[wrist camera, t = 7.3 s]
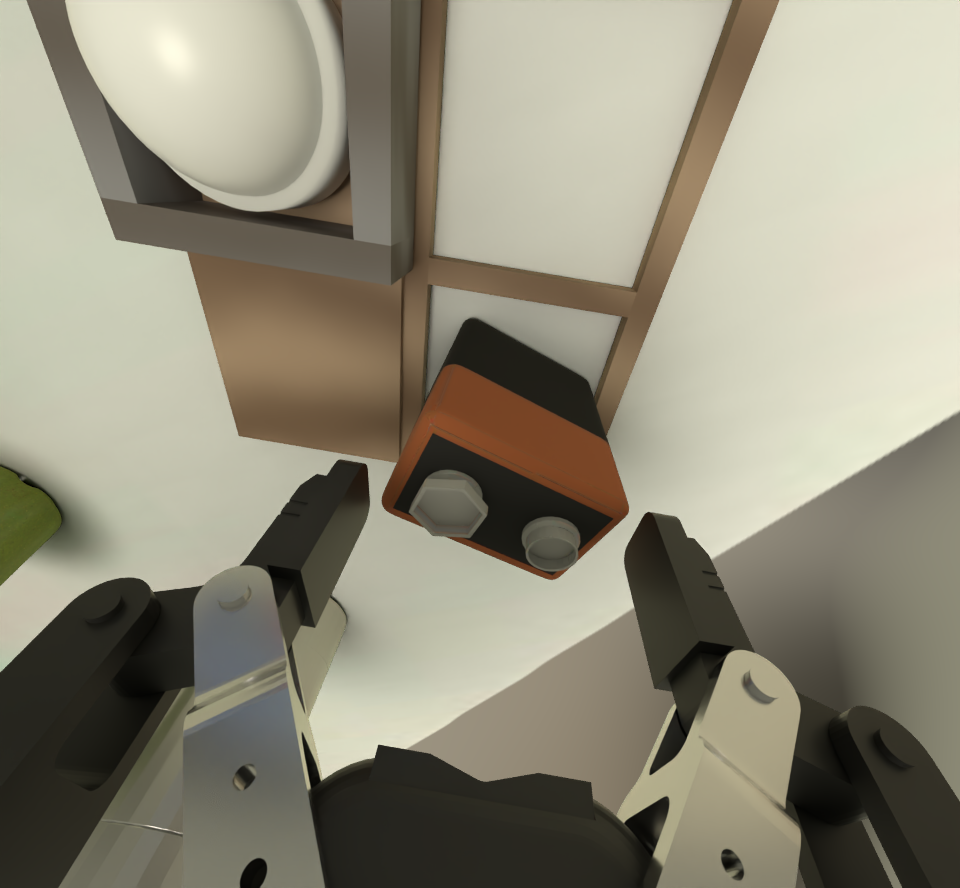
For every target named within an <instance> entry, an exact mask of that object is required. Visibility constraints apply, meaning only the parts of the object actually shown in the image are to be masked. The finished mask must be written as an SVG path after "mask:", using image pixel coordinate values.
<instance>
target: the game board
mask: <svg viewBox="0 0 960 888" xmlns="http://www.w3.org/2000/svg"><path fill="white" fill-rule="evenodd" d="M332 1H333V3H334V4H335V6H336V8H337V10H338V12H339V14H340V16H341V18H342V21H343V41H344V60H345V80H346V99H347V119H348V139H349V158H350V171H349V173H348V175H347V177H346V178H345V180H344V181H343V182H342V184H341V185H340V186H339V187H338V188H337V189H336V190H335V191H334V192H333V193H332V194H331V195H330V196H328V197H327V198H325V199H324V200H322V201H320V202H318V203H316V204H314V205H311V206H307V207H303V208H294V209H284V210H274V211H261V212H256V211H245V210H241V209H237V208H233V207H230V206H228V205H225V204H222V203H220V202H218V201H216V200H214V199H212V198H210V197H208V196H206V195H204V194H203V193H202V192H200V191H199V190H197V189H196V188H194V187H193V186H191V185H190V184H189V183H187V182H186V181H185V180H184V179H183V178H181V177H180V176H179V175H178V174H177V173H176V172H175V171H174V170H173V169H172V168H171V167H170V166H168V165H167V164H166V163H165V162H164V161H163V160H162V159H161V158H159V157H158V156H157V155H156V154H155V153H153V152H152V151H151V150H150V149H148V148H147V147H146V146H145V145H144V144H143V143H142V142H141V141H140V140H139V139H138V138H137V137H136V136H135V135H134V134H133V132H132V131H131V130H130V129H129V128H128V127H127V126H126V125H125V123H124V122H123V121H122V120H121V119H120V118H119V117H118V115H117V114H116V113H115V111H114V110H113V109H112V107H111V106H110V105H109V103H108V102H107V100H106V99H105V97H104V96H103V94H102V93H101V91H100V89H99V88H98V86H97V84H96V82H95V81H94V79H93V77H92V75H91V73H90V72H89V70H88V68H87V66H86V64H85V61H84V59H83V57H82V55H81V53H80V51H79V48H78V45H77V43H76V40H75V37H74V35H73V31H72V28H71V25H70V21H69V18H68V13H67V8H66V3H65V0H27V3H28V5H29V8H30V11H31V13H32V16H33V19H34V21H35V24H36V27H37V29H38V32H39V35H40V37H41V40H42V43H43V45H44V48H45V51H46V54H47V56H48V59H49V62H50V64H51V67H52V70H53V72H54V75H55V78H56V80H57V83H58V86H59V88H60V91H61V94H62V96H63V99H64V102H65V104H66V107H67V110H68V112H69V115H70V118H71V120H72V123H73V126H74V129H75V131H76V134H77V137H78V139H79V142H80V145H81V147H82V150H83V153H84V155H85V158H86V161H87V163H88V166H89V169H90V171H91V174H92V177H93V179H94V182H95V185H96V187H97V190H98V193H99V195H100V198H101V201H102V204H103V206H104V209H105V212H106V214H107V217H108V220H109V222H110V225H111V228H112V230H113V233H114V236H115V238H116V240H121V241H127V242H133V243H139V244H145V245H151V246H157V247H163V248H169V249H175V250H181V251H187V253H188V256H189V260H190V264H191V267H192V271H193V274H194V278H195V281H196V285H197V288H198V292H199V296H200V299H201V303H202V306H203V310H204V313H205V317H206V320H207V324H208V327H209V331H210V335H211V338H212V342H213V345H214V349H215V352H216V356H217V359H218V363H219V367H220V370H221V374H222V377H223V381H224V384H225V388H226V391H227V395H228V399H229V402H230V406H231V409H232V413H233V416H234V420H235V423H236V427H237V431H238V434H239V436H242V437H248V438H254V439H260V440H266V441H272V442H278V443H284V444H290V445H295V446H301V447H307V448H313V449H319V450H325V451H331V452H337V453H343V454H349V455H355V456H360V457H366V458H372V459H378V460H384V461H390V462H396V463H397V462H398V460H399V458H400V456H401V453H402V451H403V449H404V447H405V445H406V443H407V440H408V438H409V436H410V434H411V432H412V429H413V427H414V425H415V423H416V421H417V419H418V416H419V414H420V412H421V410H422V408H423V406H424V401H425V383H426V366H427V349H428V331H429V314H430V297H431V285H437V286H443V287H449V288H455V289H461V290H467V291H473V292H479V293H485V294H490V295H496V296H502V297H508V298H514V299H520V300H526V301H532V302H538V303H544V304H550V305H556V306H562V307H568V308H574V309H580V310H586V311H592V312H598V313H604V314H610V315H616V316H622V319H621V322H620V325H619V328H618V331H617V334H616V336H615V339H614V342H613V345H612V348H611V351H610V354H609V356H608V359H607V362H606V365H605V368H604V371H603V374H602V376H601V379H600V382H599V385H598V388H597V391H596V394H595V396H594V400H595V403H596V406H597V409H598V412H599V416H600V419H601V422H602V425H603V428H604V431H605V434H606V435H607V433H608V430H609V428H610V425H611V423H612V420H613V418H614V415H615V413H616V410H617V408H618V405H619V403H620V400H621V398H622V395H623V393H624V390H625V388H626V385H627V382H628V380H629V377H630V375H631V372H632V370H633V367H634V365H635V362H636V360H637V357H638V355H639V352H640V350H641V347H642V345H643V342H644V340H645V337H646V335H647V332H648V330H649V327H650V325H651V322H652V320H653V317H654V315H655V312H656V309H657V307H658V304H659V302H660V299H661V297H662V294H663V292H664V289H665V287H666V284H667V282H668V279H669V277H670V274H671V272H672V269H673V267H674V264H675V262H676V259H677V257H678V254H679V252H680V249H681V247H682V244H683V242H684V239H685V236H686V234H687V231H688V229H689V226H690V224H691V221H692V219H693V216H694V214H695V211H696V209H697V206H698V204H699V201H700V199H701V196H702V194H703V191H704V189H705V186H706V184H707V181H708V179H709V176H710V174H711V171H712V168H713V166H714V163H715V161H716V158H717V156H718V153H719V151H720V148H721V146H722V143H723V141H724V138H725V136H726V133H727V131H728V128H729V126H730V123H731V121H732V118H733V116H734V113H735V111H736V108H737V106H738V103H739V101H740V98H741V95H742V93H743V90H744V88H745V85H746V83H747V80H748V78H749V75H750V73H751V70H752V68H753V65H754V63H755V60H756V58H757V55H758V53H759V50H760V48H761V45H762V43H763V40H764V38H765V35H766V33H767V30H768V28H769V25H770V22H771V20H772V17H773V15H774V12H775V10H776V7H777V5H778V2H779V0H733V2H732V5H731V8H730V11H729V13H728V16H727V19H726V22H725V25H724V28H723V31H722V33H721V36H720V39H719V42H718V45H717V48H716V51H715V53H714V56H713V59H712V62H711V65H710V68H709V71H708V73H707V76H706V79H705V82H704V85H703V88H702V91H701V93H700V96H699V99H698V102H697V105H696V108H695V111H694V113H693V116H692V119H691V122H690V125H689V128H688V131H687V134H686V136H685V139H684V142H683V145H682V148H681V151H680V154H679V156H678V159H677V162H676V165H675V168H674V171H673V174H672V176H671V179H670V182H669V185H668V188H667V191H666V194H665V196H664V199H663V202H662V205H661V208H660V211H659V214H658V216H657V219H656V222H655V225H654V228H653V231H652V234H651V236H650V239H649V242H648V245H647V248H646V251H645V254H644V256H643V259H642V262H641V265H640V268H639V271H638V274H637V276H636V279H635V282H634V285H633V288H628V287H622V286H616V285H610V284H604V283H598V282H592V281H586V280H580V279H574V278H568V277H562V276H556V275H550V274H544V273H538V272H532V271H526V270H520V269H514V268H508V267H502V266H496V265H490V264H484V263H478V262H472V261H466V260H461V259H455V258H449V257H443V256H437V255H433V245H434V227H435V210H436V193H437V175H438V158H439V141H440V123H441V106H442V89H443V71H444V54H445V36H446V19H447V2H448V0H332Z"/></svg>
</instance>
